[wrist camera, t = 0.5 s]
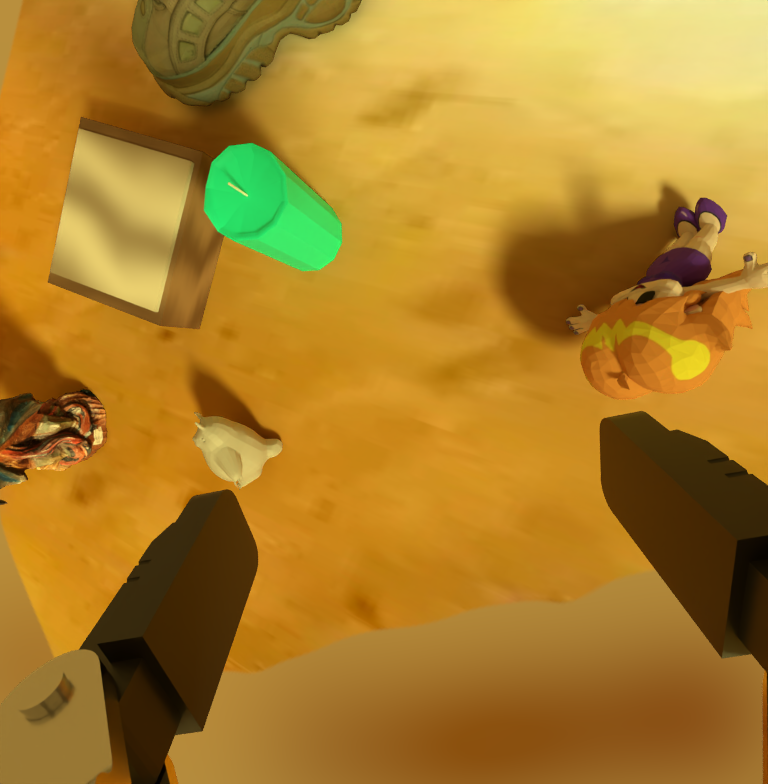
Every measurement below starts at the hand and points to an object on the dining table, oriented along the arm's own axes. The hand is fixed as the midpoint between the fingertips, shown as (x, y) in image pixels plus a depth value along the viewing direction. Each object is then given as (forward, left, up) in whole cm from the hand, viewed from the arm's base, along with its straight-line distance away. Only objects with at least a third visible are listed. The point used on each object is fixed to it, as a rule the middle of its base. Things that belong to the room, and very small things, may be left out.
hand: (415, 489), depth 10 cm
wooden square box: (-4, -31, -27) cm, 41 cm away
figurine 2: (+11, -17, -27) cm, 34 cm away
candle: (-8, -17, -27) cm, 33 cm away
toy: (-10, +10, -27) cm, 30 cm away
